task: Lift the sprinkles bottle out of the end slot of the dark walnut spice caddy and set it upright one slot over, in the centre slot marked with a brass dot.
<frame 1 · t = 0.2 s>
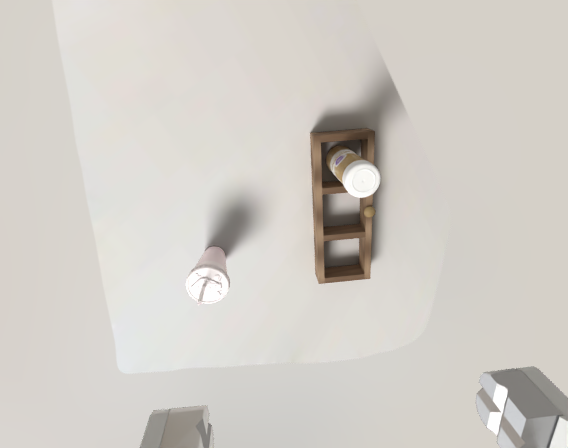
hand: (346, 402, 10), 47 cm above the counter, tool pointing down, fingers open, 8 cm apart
spice caddy: (339, 206, 58), on the counter
sprinkles bottle: (338, 159, 56), resting in spice caddy
smoothie: (214, 255, 60), on the counter
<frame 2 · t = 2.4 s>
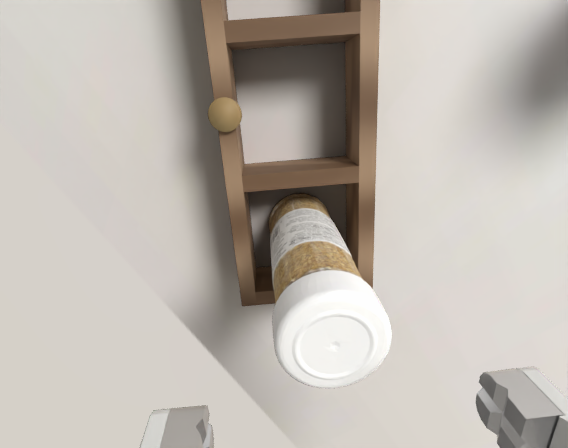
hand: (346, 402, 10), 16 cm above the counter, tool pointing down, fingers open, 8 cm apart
spice caddy: (292, 106, 23), on the counter
sprinkles bottle: (298, 220, 26), resting in spice caddy
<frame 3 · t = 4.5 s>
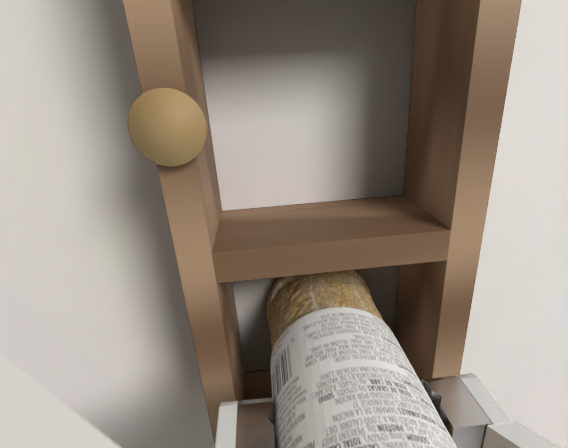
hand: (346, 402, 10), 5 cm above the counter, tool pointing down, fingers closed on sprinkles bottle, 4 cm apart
spice caddy: (310, 106, 12), on the counter
sprinkles bottle: (316, 298, 15), resting in spice caddy, touching gripper
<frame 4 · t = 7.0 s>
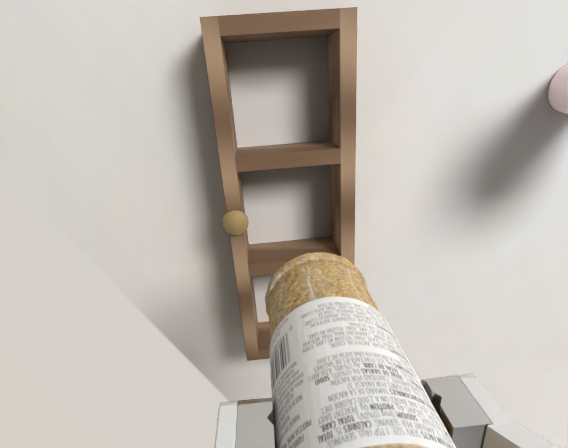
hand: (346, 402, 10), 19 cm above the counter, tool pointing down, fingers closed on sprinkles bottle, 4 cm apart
spice caddy: (287, 201, 28), on the counter
sprinkles bottle: (314, 289, 16), point 13 cm above the counter, touching gripper
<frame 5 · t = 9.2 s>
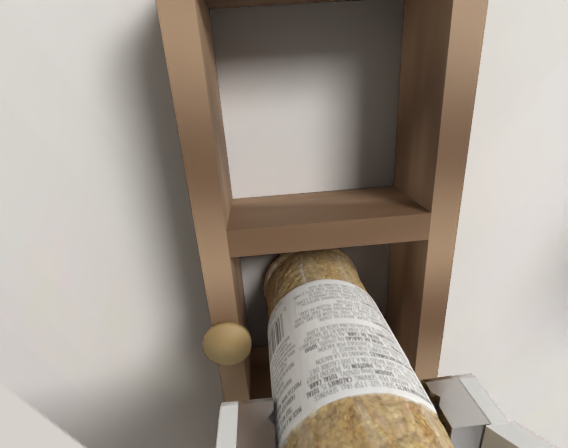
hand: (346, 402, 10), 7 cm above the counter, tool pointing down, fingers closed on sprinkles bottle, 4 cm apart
spice caddy: (316, 282, 17), on the counter
sprinkles bottle: (309, 278, 17), resting in spice caddy, touching gripper
when the fingers open (7 cm above the counter, at t = 10.0 s): sprinkles bottle stays where it is, resting in spice caddy.
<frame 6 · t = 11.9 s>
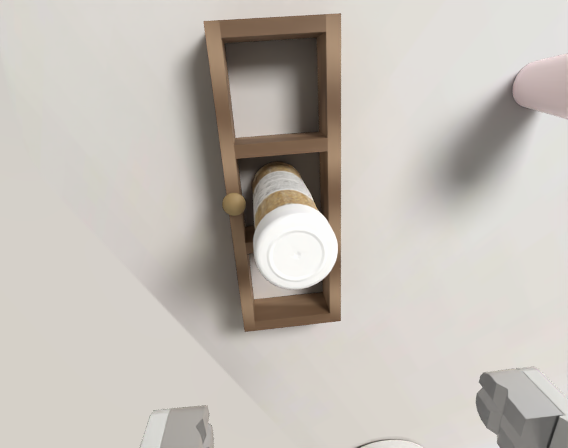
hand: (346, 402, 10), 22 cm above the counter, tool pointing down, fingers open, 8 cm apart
spice caddy: (280, 186, 31), on the counter
sprinkles bottle: (277, 184, 31), resting in spice caddy
smoothie: (531, 84, 30), on the counter
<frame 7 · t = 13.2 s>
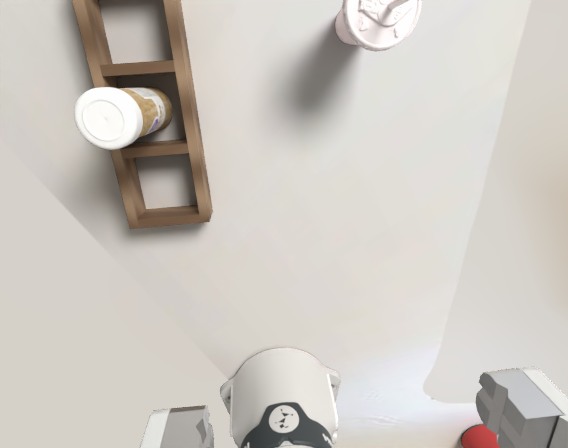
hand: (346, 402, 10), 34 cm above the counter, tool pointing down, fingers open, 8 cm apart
spice caddy: (155, 109, 38), on the counter
beer can: (476, 434, 64), on the counter
sprinkles bottle: (152, 107, 38), resting in spice caddy
smoothie: (351, 25, 37), on the counter
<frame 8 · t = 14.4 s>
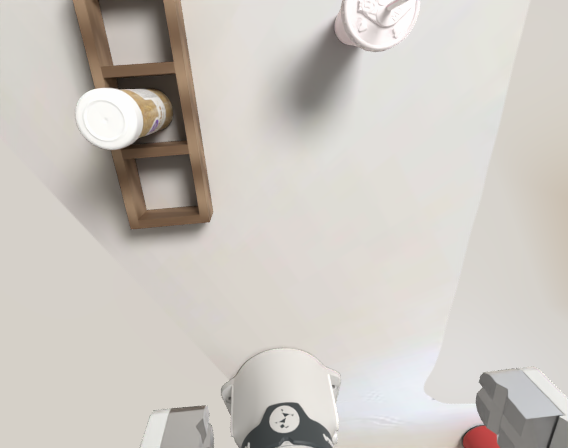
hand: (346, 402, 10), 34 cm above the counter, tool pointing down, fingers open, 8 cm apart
spice caddy: (156, 110, 39), on the counter
beer can: (477, 434, 64), on the counter
sprinkles bottle: (153, 109, 39), resting in spice caddy
smoothie: (350, 26, 37), on the counter
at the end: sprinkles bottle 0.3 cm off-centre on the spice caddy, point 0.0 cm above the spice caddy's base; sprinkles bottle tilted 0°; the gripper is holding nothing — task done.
